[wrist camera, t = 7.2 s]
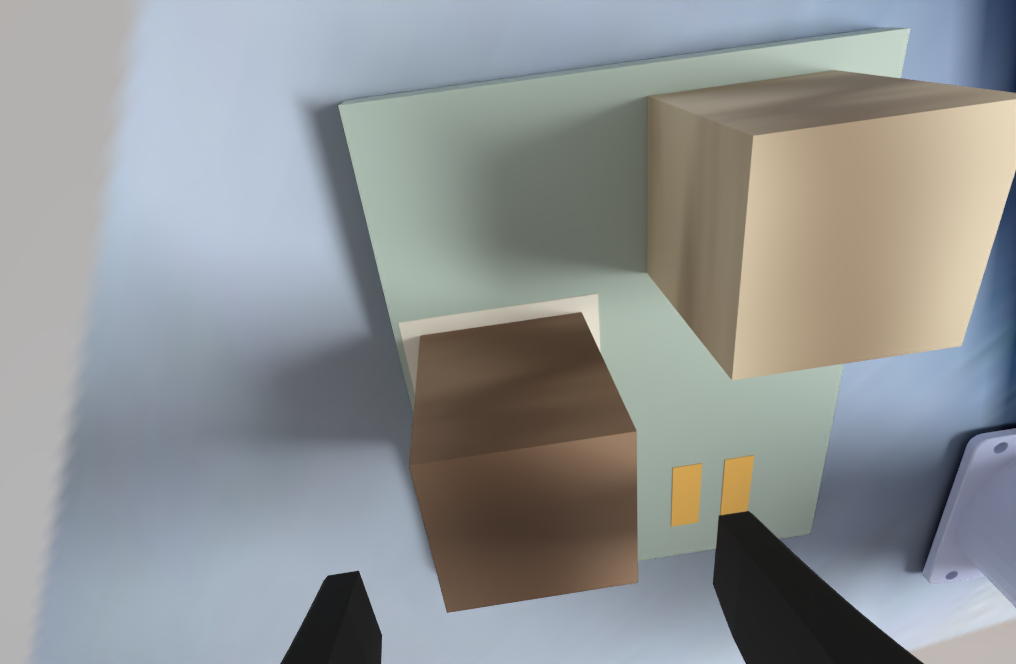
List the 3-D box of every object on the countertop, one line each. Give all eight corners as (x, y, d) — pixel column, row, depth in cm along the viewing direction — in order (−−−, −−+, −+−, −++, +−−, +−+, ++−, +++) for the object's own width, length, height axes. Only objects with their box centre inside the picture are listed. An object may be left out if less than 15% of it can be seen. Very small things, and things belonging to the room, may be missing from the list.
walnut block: (581, 312, 16) (636, 431, 12) (588, 439, 19) (638, 582, 14) (419, 335, 16) (408, 465, 11) (447, 460, 18) (447, 613, 14)
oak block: (835, 69, 14) (1038, 96, 9) (809, 249, 16) (961, 346, 11) (647, 95, 14) (753, 135, 9) (647, 273, 16) (731, 380, 11)
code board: (882, 27, 14) (910, 27, 14) (796, 514, 23) (811, 534, 22) (344, 100, 14) (337, 105, 13) (455, 567, 22) (455, 590, 21)
